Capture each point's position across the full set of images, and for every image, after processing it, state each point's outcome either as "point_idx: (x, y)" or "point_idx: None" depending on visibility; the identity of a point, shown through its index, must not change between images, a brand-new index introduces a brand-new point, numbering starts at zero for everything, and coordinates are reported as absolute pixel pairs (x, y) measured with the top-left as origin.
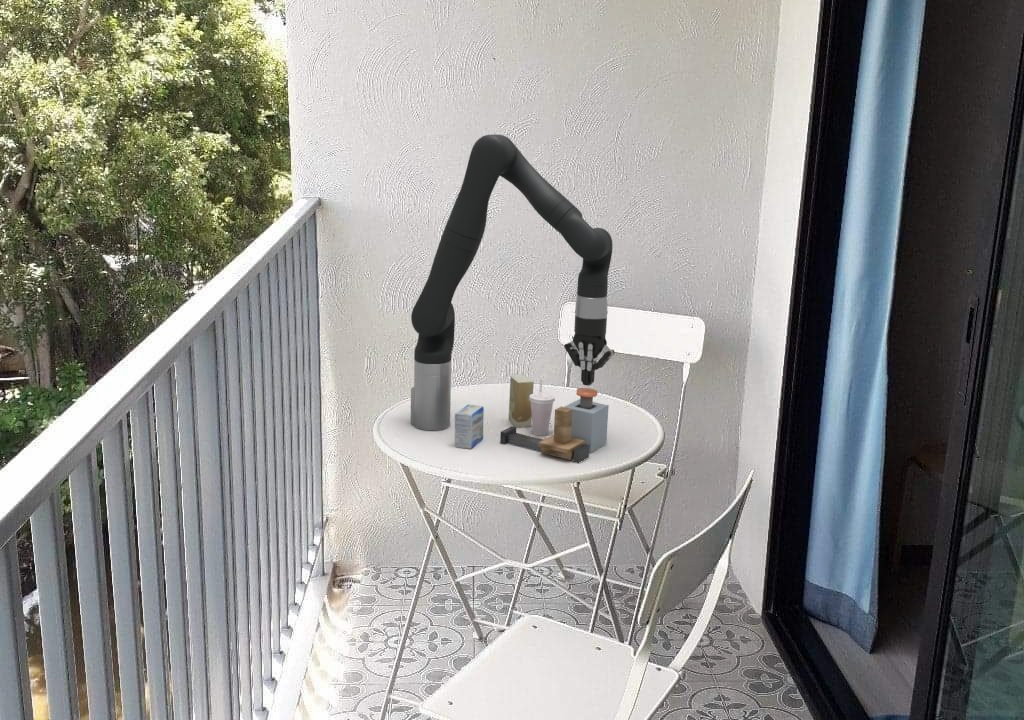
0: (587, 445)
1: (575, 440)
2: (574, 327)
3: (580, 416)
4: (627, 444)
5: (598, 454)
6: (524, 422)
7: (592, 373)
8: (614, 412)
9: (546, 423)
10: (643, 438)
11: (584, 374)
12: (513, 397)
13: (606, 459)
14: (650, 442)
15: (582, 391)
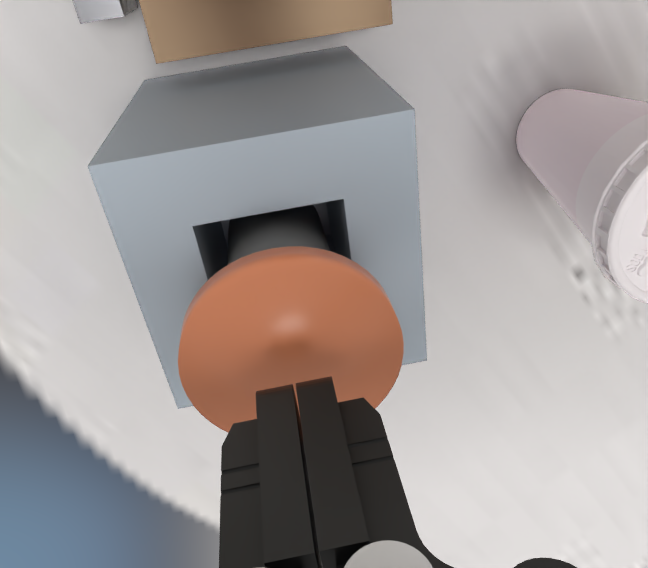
0: (84, 5)
1: (199, 7)
2: None
3: (222, 125)
4: (127, 328)
5: (103, 103)
6: None
7: (226, 565)
8: (424, 526)
9: (545, 142)
10: (142, 426)
11: (331, 487)
12: None
13: (5, 69)
14: (83, 415)
15: (316, 320)
